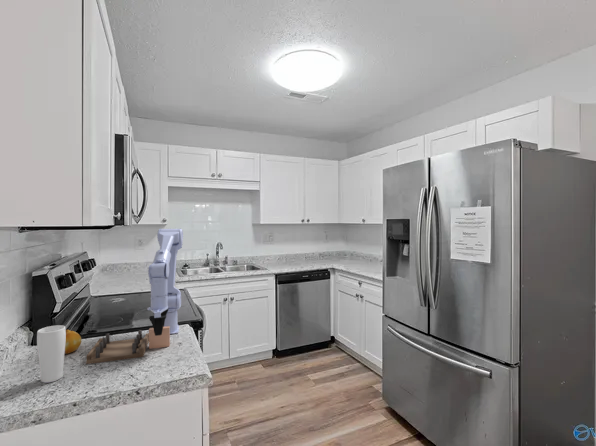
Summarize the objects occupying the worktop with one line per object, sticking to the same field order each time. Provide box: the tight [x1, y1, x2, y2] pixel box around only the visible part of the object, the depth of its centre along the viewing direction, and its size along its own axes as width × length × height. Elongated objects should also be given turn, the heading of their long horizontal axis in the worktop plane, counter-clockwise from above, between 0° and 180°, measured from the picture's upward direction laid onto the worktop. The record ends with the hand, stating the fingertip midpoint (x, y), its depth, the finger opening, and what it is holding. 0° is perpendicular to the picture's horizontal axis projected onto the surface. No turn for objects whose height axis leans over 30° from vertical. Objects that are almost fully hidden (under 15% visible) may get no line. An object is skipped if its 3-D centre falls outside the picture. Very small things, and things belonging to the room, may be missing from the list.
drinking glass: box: [36, 324, 67, 384], centre depth 94 cm, size 7×7×15 cm
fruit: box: [65, 329, 82, 355], centre depth 114 cm, size 8×8×8 cm
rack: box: [85, 329, 149, 365], centre depth 114 cm, size 16×17×5 cm
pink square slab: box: [148, 326, 171, 350], centre depth 118 cm, size 2×7×7 cm, turn 108°
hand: (159, 331), depth 118 cm, fingers open, 7 cm apart
